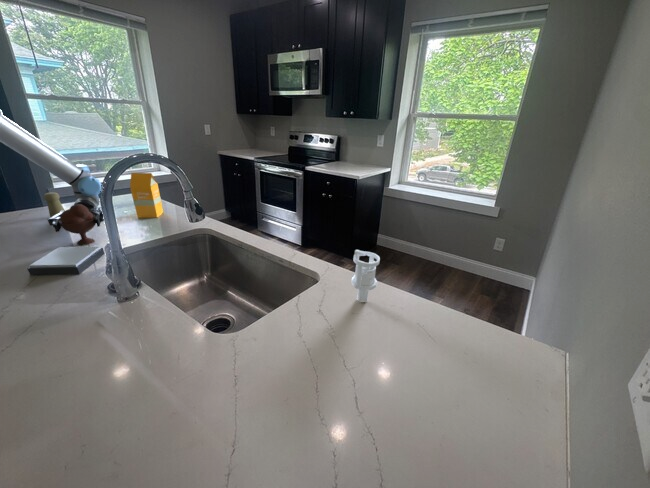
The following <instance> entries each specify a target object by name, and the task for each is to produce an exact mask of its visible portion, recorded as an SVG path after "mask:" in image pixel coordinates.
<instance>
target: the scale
mask: <svg viewBox="0 0 650 488" xmlns="http://www.w3.org/2000/svg"><path fill="white" fill-rule="evenodd" d="M105 254H106V253H105V250H104V247H101V246H58V247H57V248H55V249H54V250H51V251H50V252H48V253H47V254H45V255H44V256H42V257H41V258H39V259H37V260H36V261H34V262H32V263H31V264H30V265H29V267H27V272H28V273H29V276H60V275H62V276H63V275H64V276H65V275H81V274H82V273H83V272H84V271H86V270H87V269H88V268H90V266H92V265H93V264H94V263H96V262H97V261H98V260H99V259H100V258H102V257H103V256H105Z"/></svg>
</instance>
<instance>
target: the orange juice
mask: <svg viewBox="0 0 650 488" xmlns="http://www.w3.org/2000/svg"><path fill="white" fill-rule="evenodd" d="M130 174H131V175H130V185H129V188H130V192H131V196H132V200H133V205H134V209H135V212H136V217H137V218H138V219H157V218H159V217H160V216H161V215H162V214H163V213H164V209H163V202H162V198H161V193H160V189H159V184H158V182H157V181H156V178H155V177H154V175H153V173H152V172H130Z"/></svg>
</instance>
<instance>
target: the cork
mask: <svg viewBox="0 0 650 488" xmlns="http://www.w3.org/2000/svg"><path fill="white" fill-rule="evenodd" d="M60 197H61V196H60V194H59V193H57V192H47V193H44V194H43V199H44V200H45V201H46V204H47V209H48V214H49V218H51V217H53V216H55V215H56V214H58V213H60V212H61V211H66V209H65V208H64V206H63V205H62V203H61V200H60Z"/></svg>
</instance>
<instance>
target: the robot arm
mask: <svg viewBox="0 0 650 488" xmlns="http://www.w3.org/2000/svg"><path fill="white" fill-rule="evenodd" d="M0 143H1V144H3V145H5V146H6V147H8V148H9V149H10V150H13V151H14V152H16V153H18V154H19V155H21V156H22V157H24V158H26V159H27V160H29V161H30V162H33V163H34V164H35V165H37V166H38V167H40V168H42V169H44V170H45V171H47V172H49V173H50V174H52V175H53V176H55V177H56V178H58V179H60V180H61V181H63V182H65V183H66V184H68V185H69V186H71V188H72V190H73V191H72V192H73V194H74V197H75V202H74V204H73V205H77V204H82V205H84V206H86V207H87V208H88V210H89V212H91V213H92V214H93V215H95V216H96V219H95V221H96V227H97V228H98V227H101V224H102V223H103V222H104V221H105V220H104V219H103V214H102V210H101V207H102V206H100V207H99V205H100V203H101V202H100V201H99V200H100V196H99V195H100V194H101V192H102V190H101V185H102V183H101V181H100V179H98V178H96V177H95V176H94V175H92V174H91V171H90V168H89V166H88V165H86V164H75V163H74V162H73V161H72V160H70V159H68V158H67V157H65V156H64V155H62V154H61V153H59V152H58V151H57V150H55V149H54V148H53V147H50V146H49V145H48V144H46V143H44V142H43V141H42V140H40V139H39V138H37V137H35V136H34V135H33V134H31V133H30V132H29V131H27V130H25V129H24V128H23V127H21V126H19V125H18V124H17V123H15V122H14V121H13V120H11V119H9V118H8V117H6V116H5V115H3V111H2V110H1V109H0ZM102 186H103V185H102ZM100 191H101V192H100ZM63 212H64V211H61V212H60V213H58V214H56V215H55V216H53V217H51V218H50V217H49V218H47V222H48V224H49V226H50V227H52V228H54V230H55V233H59V232H60V230H61V228H62V226H61V225H60V223H59V221H60V220H61V219H60V216H61V214H62V213H63Z"/></svg>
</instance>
